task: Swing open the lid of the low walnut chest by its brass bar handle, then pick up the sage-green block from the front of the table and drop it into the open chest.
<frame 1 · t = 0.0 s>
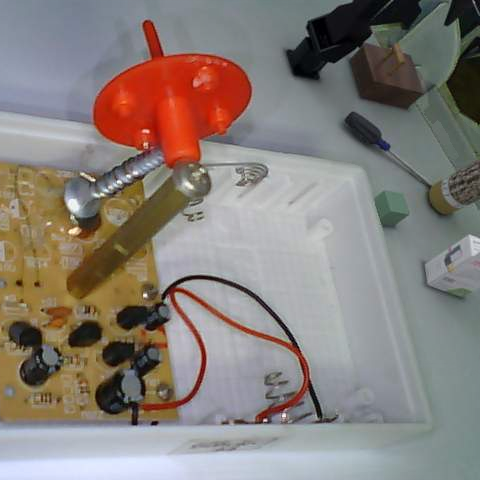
hand: (453, 42, 163), 15 cm above the table, tool pointing down, fingers open, 9 cm apart
block: (381, 214, 150), on the table
screwdriver: (391, 160, 159), on the table
lid: (399, 61, 164), point 7 cm above the table, hinge at 0.0°
canister: (440, 200, 159), on the table
chest: (378, 84, 170), on the table
ink box: (442, 281, 148), on the table
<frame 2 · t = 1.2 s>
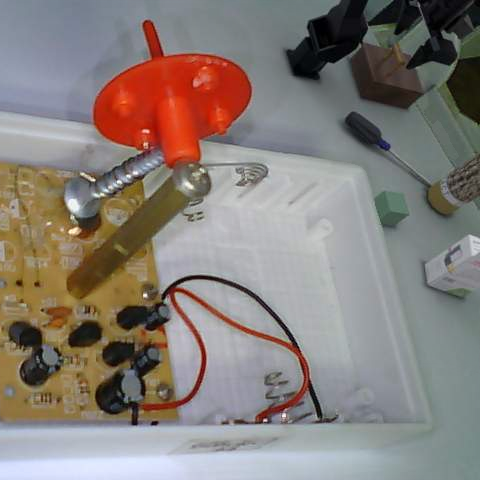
hand: (401, 51, 161), 10 cm above the table, tool pointing down, fingers open, 9 cm apart
screwdriver: (391, 160, 159), on the table, touching canister
canister: (438, 200, 159), on the table, touching screwdriver
everything else where it was.
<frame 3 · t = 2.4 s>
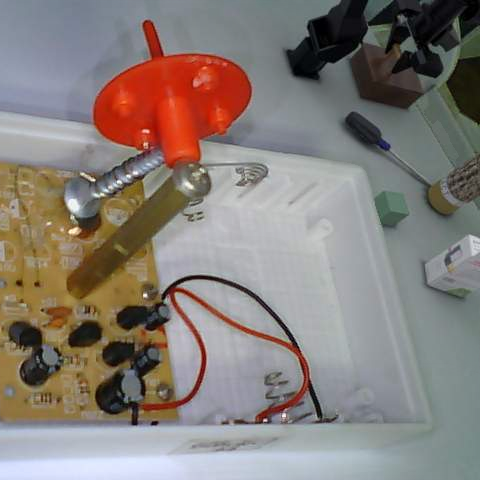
hand: (389, 63, 164), 6 cm above the table, tool pointing down, fingers closed on lid, 5 cm apart
lid: (399, 61, 164), point 7 cm above the table, hinge at 0.0°, touching gripper
everything else where it was.
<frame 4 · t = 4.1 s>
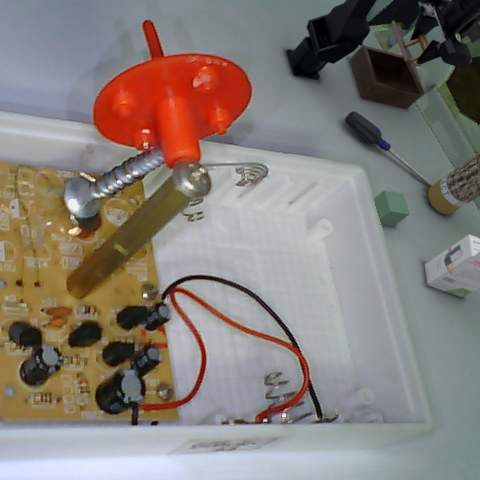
hand: (414, 53, 162), 10 cm above the table, tool pointing down, fingers closed on lid, 5 cm apart
lid: (418, 53, 163), point 11 cm above the table, hinge at 33.6°, touching gripper
everything else where it was.
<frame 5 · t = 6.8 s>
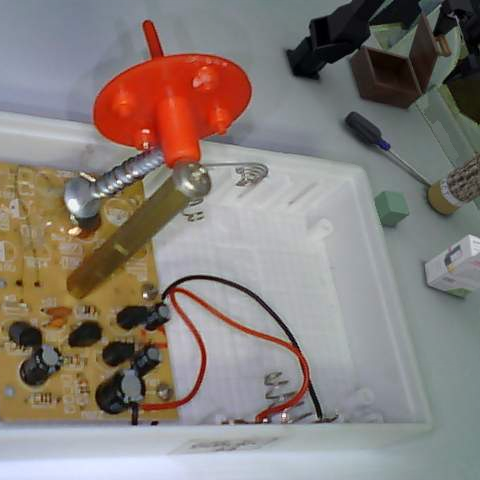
hand: (437, 63, 162), 12 cm above the table, tool pointing down, fingers open, 9 cm apart
lid: (433, 52, 163), point 12 cm above the table, hinge at 59.9°, touching gripper
everything else where it was.
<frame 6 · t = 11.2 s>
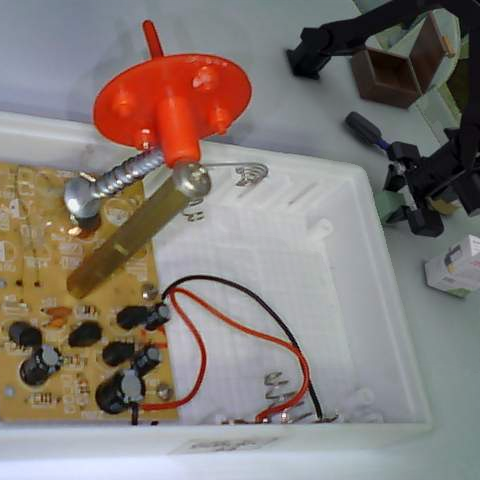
hand: (384, 211, 149), 1 cm above the table, tool pointing down, fingers closed on block, 4 cm apart
block: (381, 214, 150), on the table, touching gripper
lid: (437, 52, 163), point 12 cm above the table, hinge at 66.4°
everything else where it was.
when the fingers open (3 cm above the table, at t = 18.0 s): block stays where it is, resting on chest.
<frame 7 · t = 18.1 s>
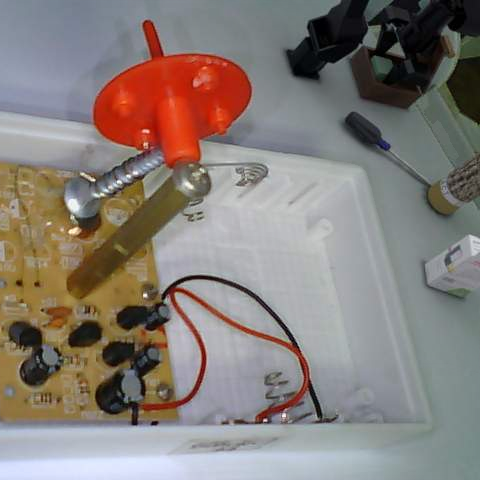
hand: (378, 72, 166), 3 cm above the table, tool pointing down, fingers open, 7 cm apart
block: (371, 79, 168), point 1 cm above the table, touching chest
everything else where it was.
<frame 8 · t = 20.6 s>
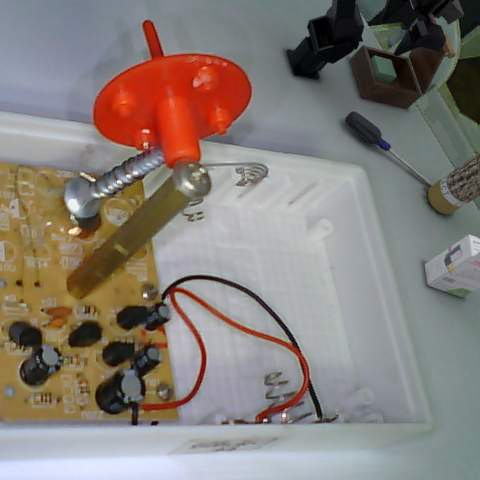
hand: (389, 37, 156), 13 cm above the table, tool pointing down, fingers open, 9 cm apart
nothing on the table moved.
at the end: lid at +66° (first picture: +0°); block inside the target area in the chest (2.4 cm from its centre), point 0.8 cm above the chest's base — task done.
